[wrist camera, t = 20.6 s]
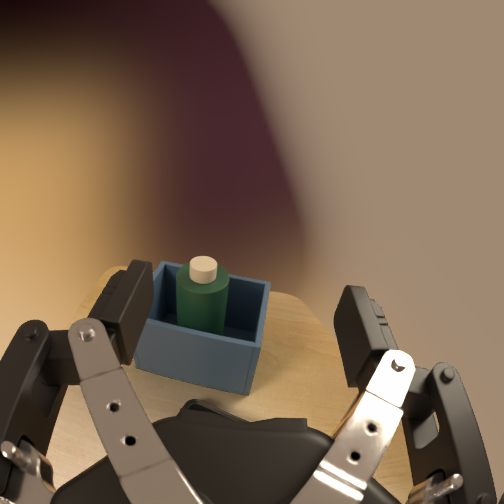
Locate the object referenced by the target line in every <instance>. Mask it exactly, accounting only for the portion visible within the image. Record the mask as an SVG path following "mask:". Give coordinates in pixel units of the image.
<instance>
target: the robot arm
mask: <svg viewBox="0 0 504 504" xmlns="http://www.w3.org/2000/svg"><path fill="white" fill-rule="evenodd" d="M153 300H154V284H153V270H152V263H151V262H149V261H141V260H132V262H131V264H130V265H129V267H128V269H127V270H126V271H125V270H119V271H118V272H117V273H115V274H114V275H113V276H111V278H110V279H109V281H108V283H107V284H106V287H105V288H104V289H103V291H102V294H100V296H99V298H98V299H97V301H96V303H95V305H94V306H93V308H92V310H91V311H90V313H89V315H88V317H87V318H84V319H80V320H78V321H76V322H75V323H74V324H73V325H72V326H71V327H70V329H69V330H54V331H49V330H48V327H47V325H46V324H45V323H44V322H43V321H40V320H30V321H27V322H25V323H24V324H22V325H21V326H20V327H19V329H18V330H17V332H16V334H15V336H14V337H13V339H12V341H11V342H10V344H9V346H8V348H7V350H6V351H5V353H4V355H3V357H2V359H1V361H0V503H2V504H402V503H401V502H399V501H398V500H397V499H396V498H395V497H394V496H393V495H392V494H390V493H389V492H388V491H387V490H386V489H385V488H384V487H383V486H382V485H381V484H379V483H378V482H377V481H376V480H375V479H374V478H373V477H372V476H373V474H374V473H375V471H376V469H377V467H378V465H379V463H380V461H381V459H382V457H383V456H384V454H385V452H386V450H387V448H388V445H389V443H390V441H391V439H392V437H393V435H394V433H395V431H396V428H397V426H398V424H399V422H400V419H401V420H402V425H403V430H404V434H405V439H406V445H407V450H408V455H409V461H410V467H411V473H412V479H413V486H414V487H413V488H412V490H411V491H410V493H409V496H408V500H407V501H406V504H497V497H496V492H495V487H494V482H493V478H492V474H491V469H490V465H489V462H488V458H487V454H486V450H485V447H484V443H483V440H482V437H481V433H480V430H479V427H478V424H477V421H476V418H475V415H474V412H473V409H472V407H471V404H470V401H469V398H468V396H467V393H466V390H465V388H464V385H463V383H462V380H461V377H460V375H459V373H458V371H457V370H456V369H455V368H454V367H453V366H452V365H450V364H448V363H444V362H440V363H437V364H436V365H435V366H434V367H433V369H432V370H429V369H425V368H421V367H417V366H415V364H414V361H413V360H412V358H411V357H410V356H409V355H408V354H406V353H405V352H403V351H400V350H398V347H397V344H396V342H395V340H394V337H393V334H392V332H391V330H390V327H389V326H388V323H387V320H386V318H385V315H384V313H383V311H382V308H381V307H380V306H379V305H378V304H377V303H376V301H375V300H373V299H369V296H368V294H367V292H366V289H365V288H364V287H360V286H351V285H347V286H346V287H345V288H344V291H343V293H342V296H341V299H340V301H339V304H338V306H337V309H336V311H335V315H334V328H335V332H336V336H337V340H338V345H339V349H340V353H341V357H342V362H343V366H344V371H345V375H346V379H347V384H348V387H358V389H359V393H358V394H357V396H356V397H355V399H354V401H353V402H352V404H351V405H350V407H349V409H348V410H347V412H346V413H345V415H344V417H343V418H342V420H341V421H340V423H339V424H338V426H337V427H336V429H335V430H334V431H333V433H332V434H331V435H330V436H328V435H327V434H325V433H323V432H321V431H319V430H316V429H314V428H311V427H307V418H273V419H267V420H261V421H255V422H249V423H242V422H239V421H236V420H232V419H229V418H226V417H223V416H220V415H217V414H214V413H211V412H203V411H196V410H189V409H182V408H181V409H180V415H179V416H175V417H169V418H164V419H161V420H158V421H156V422H153V423H151V422H150V420H149V419H148V417H147V415H146V413H145V411H144V409H143V407H142V405H141V404H140V402H139V400H138V398H137V396H136V394H135V392H134V390H133V388H132V386H131V384H130V382H129V379H128V377H127V375H126V373H125V371H124V369H123V367H121V366H120V365H121V364H125V365H130V364H131V361H132V358H133V356H134V353H135V350H136V347H137V344H138V342H139V339H140V336H141V334H142V331H143V328H144V326H145V323H146V320H147V318H148V315H149V313H150V310H151V307H152V305H153ZM68 385H80V386H81V390H82V393H83V395H84V398H85V401H86V404H87V407H88V409H89V412H90V415H91V417H92V420H93V422H94V425H95V427H96V430H97V432H98V435H99V437H100V439H101V442H102V444H103V446H104V448H105V451H106V453H107V455H106V456H105V457H104V458H102V459H101V460H99V461H98V462H96V463H95V464H94V465H92V466H91V467H89V468H88V469H86V470H85V471H83V472H82V473H80V474H79V475H77V476H76V477H74V478H73V479H71V480H70V481H68V482H67V483H65V484H64V485H62V486H61V487H60V488H58V489H57V491H56V489H55V487H54V484H53V468H52V465H51V463H50V462H49V460H48V459H47V458H46V453H47V450H48V446H49V443H50V439H51V436H52V432H53V429H54V426H55V423H56V420H57V416H58V413H59V410H60V407H61V404H62V402H63V399H64V396H65V393H66V390H67V387H68ZM434 412H436V415H437V419H438V422H439V433H438V429H437V426H436V422H435V418H434V415H433V413H434Z"/></svg>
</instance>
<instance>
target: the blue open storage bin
mask: <svg viewBox="0 0 504 504" xmlns="http://www.w3.org/2000/svg"><path fill="white" fill-rule="evenodd" d="M182 266H183V265H180V264H175V263H171V262H166V261H162V262H161V263H160V265H159V266H158V268H157V269H156V270H155V272H154V273H153V284H154V300H153V305H152V307H151V310H150V313H149V315H148V318H147V320H146V323H145V326H144V328H143V331H142V334H141V336H140V339H139V342H138V344H137V347H136V350H135V353H134V361H135V365H136V368H138V369H142V370H145V371H148V372H151V373H155V374H158V375H162V376H165V377H169V378H173V379H176V380H180V381H184V382H188V383H192V384H196V385H200V386H204V387H209V388H213V389H218V390H222V391H227V392H232V393H237V394H242V395H247V396H249V393H250V389H251V385H252V381H253V377H254V373H255V369H256V365H257V362H258V358H259V354H260V350H261V344H262V338H263V331H264V324H265V318H266V311H267V304H268V297H269V290H270V284H271V283H270V282H267V281H266V282H265V281H261V280H256V279H250V278H245V277H240V276H235V275H229V274H228V275H229V287H228V296H227V304H226V313H225V322H224V331H223V336H220V335H216V334H211V333H207V332H202V331H198V330H193V329H189V328H185V327H181V326H177V300H176V274H177V271H178V270H179V269H180V268H181V267H182Z"/></svg>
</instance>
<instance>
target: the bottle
mask: <svg viewBox="0 0 504 504" xmlns="http://www.w3.org/2000/svg"><path fill="white" fill-rule="evenodd" d="M228 287H229V275H228V273H227V271H226V270H225V269H224V268H223V267H221V266H219V265H217V262H216V261H215V260H214V259H213V258H210V257H207V256H198V257H195V258H193V259H192V260H191V261H190V263H188V264H186V265H183V266H182V267H181V268H180V269H179V270H178V271H177V274H176V300H177V326H181V327H185V328H189V329H193V330H198V331H202V332H207V333H211V334H216V335H220V336H223V331H224V322H225V313H226V304H227V296H228Z"/></svg>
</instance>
